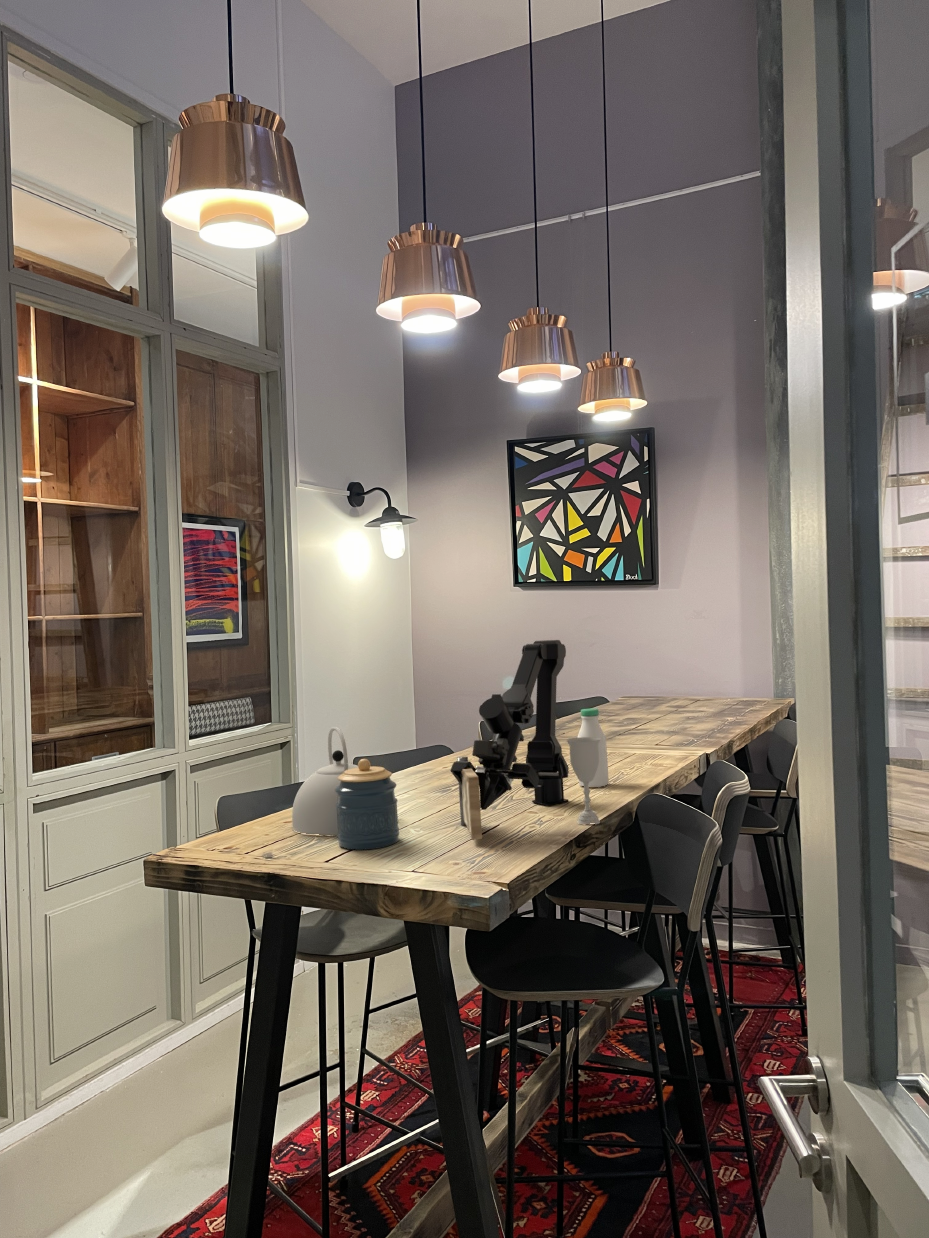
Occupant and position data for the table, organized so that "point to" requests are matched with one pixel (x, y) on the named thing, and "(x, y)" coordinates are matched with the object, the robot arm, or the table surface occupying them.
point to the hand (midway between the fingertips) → (482, 808)
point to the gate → (471, 802)
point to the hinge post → (461, 794)
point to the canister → (366, 808)
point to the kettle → (321, 795)
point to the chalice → (585, 770)
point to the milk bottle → (593, 729)
